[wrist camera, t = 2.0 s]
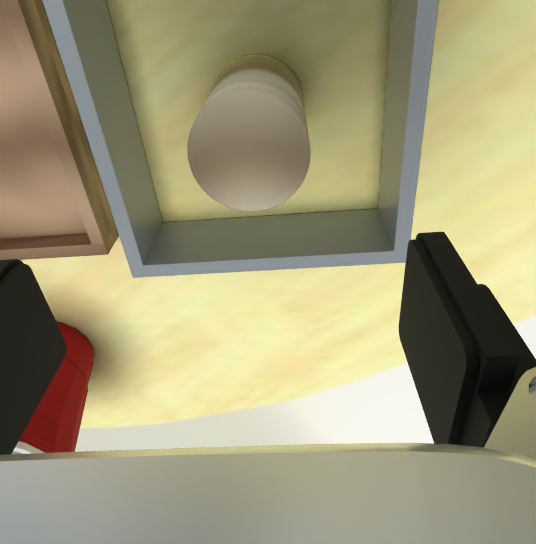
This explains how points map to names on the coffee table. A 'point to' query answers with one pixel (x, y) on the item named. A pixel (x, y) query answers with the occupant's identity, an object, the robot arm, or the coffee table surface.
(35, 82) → the tray
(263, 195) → the beige grooved cylinder
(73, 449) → the plastic cup
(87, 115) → the grey square frame
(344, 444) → the robot arm
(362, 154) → the coffee table surface
